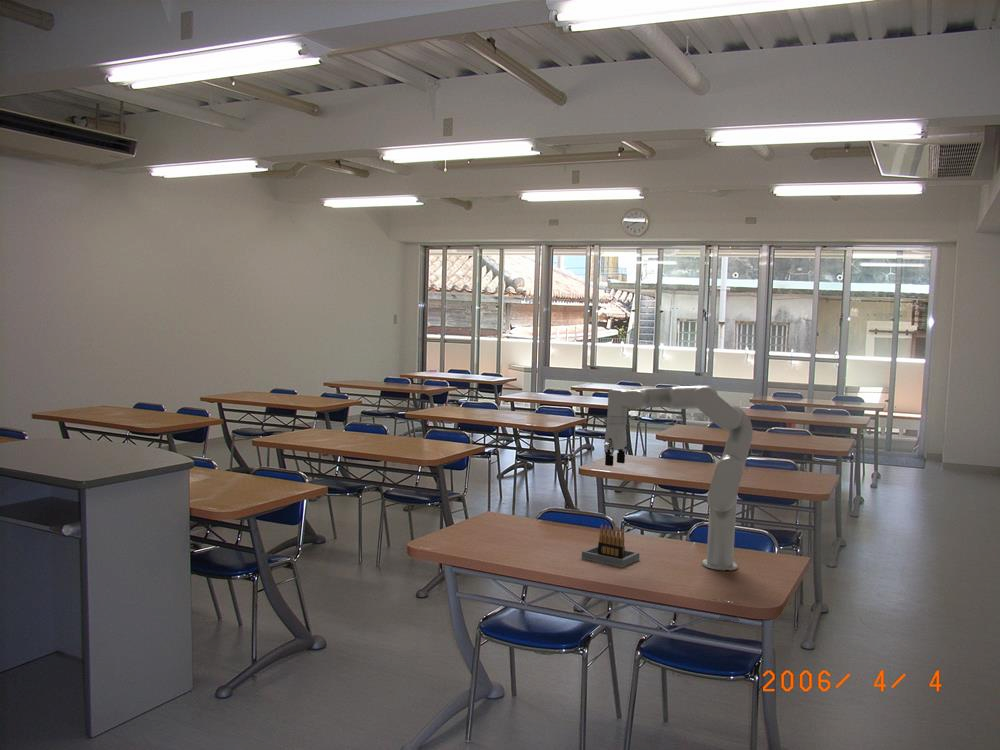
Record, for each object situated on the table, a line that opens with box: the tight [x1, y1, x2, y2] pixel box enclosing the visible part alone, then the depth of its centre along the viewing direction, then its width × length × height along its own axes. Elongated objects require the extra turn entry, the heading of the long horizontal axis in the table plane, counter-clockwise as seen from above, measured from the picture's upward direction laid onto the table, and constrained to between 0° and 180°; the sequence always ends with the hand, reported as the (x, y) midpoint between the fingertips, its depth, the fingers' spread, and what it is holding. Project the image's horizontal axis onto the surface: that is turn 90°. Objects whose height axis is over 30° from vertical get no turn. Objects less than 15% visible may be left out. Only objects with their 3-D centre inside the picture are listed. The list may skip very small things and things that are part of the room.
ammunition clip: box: [597, 523, 626, 559], centre depth 296 cm, size 11×2×12 cm, turn 54°
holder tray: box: [581, 545, 640, 568], centre depth 296 cm, size 14×17×3 cm
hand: (614, 464), depth 306 cm, fingers open, 9 cm apart
